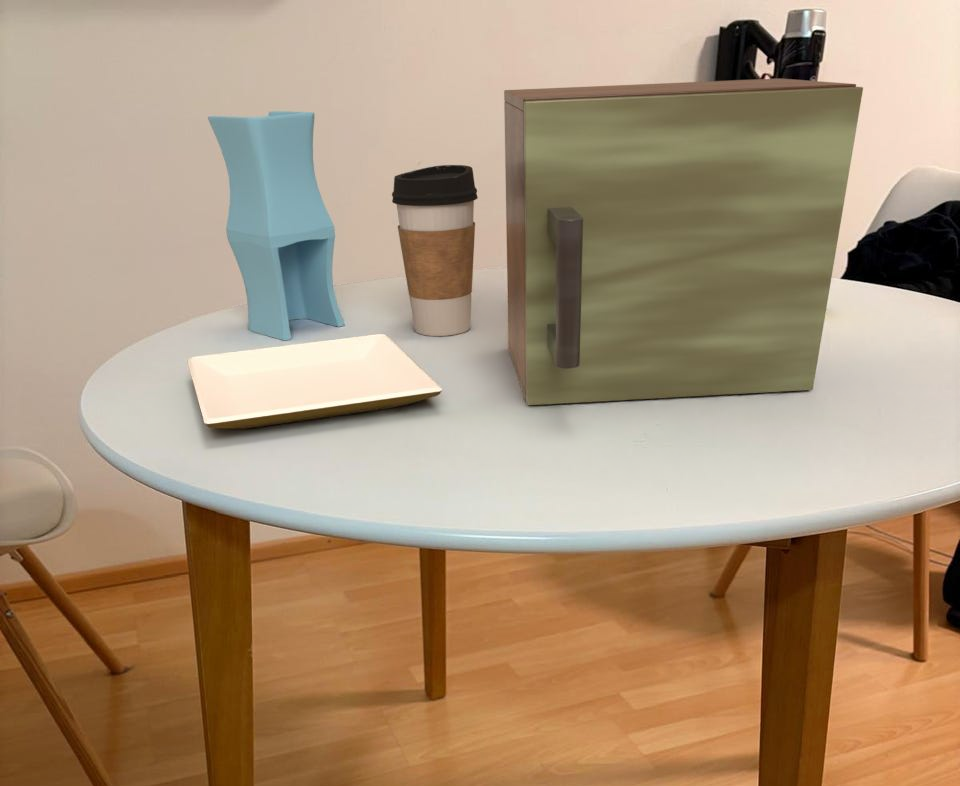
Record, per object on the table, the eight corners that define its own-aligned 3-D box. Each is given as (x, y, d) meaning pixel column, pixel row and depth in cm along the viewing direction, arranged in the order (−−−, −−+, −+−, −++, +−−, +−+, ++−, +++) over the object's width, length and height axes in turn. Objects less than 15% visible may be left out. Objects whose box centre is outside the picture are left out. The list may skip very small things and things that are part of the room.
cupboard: (807, 387, 76) (856, 84, 64) (525, 402, 75) (523, 98, 63) (747, 336, 89) (780, 78, 77) (508, 349, 88) (504, 90, 77)
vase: (302, 314, 103) (275, 110, 92) (345, 325, 98) (321, 112, 88) (242, 328, 99) (206, 116, 88) (284, 340, 94) (251, 118, 83)
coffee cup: (498, 326, 96) (495, 167, 87) (439, 344, 91) (429, 176, 83) (445, 314, 101) (436, 162, 93) (385, 330, 96) (371, 171, 88)
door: (841, 414, 70) (902, 90, 58) (535, 431, 69) (534, 106, 57) (808, 386, 75) (857, 86, 64) (525, 401, 75) (523, 101, 63)
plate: (191, 379, 84) (186, 356, 82) (387, 354, 88) (386, 332, 87) (209, 447, 69) (204, 421, 68) (445, 412, 74) (443, 387, 72)
